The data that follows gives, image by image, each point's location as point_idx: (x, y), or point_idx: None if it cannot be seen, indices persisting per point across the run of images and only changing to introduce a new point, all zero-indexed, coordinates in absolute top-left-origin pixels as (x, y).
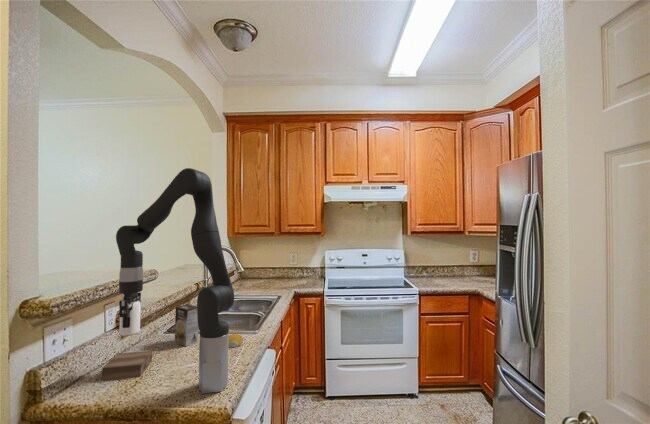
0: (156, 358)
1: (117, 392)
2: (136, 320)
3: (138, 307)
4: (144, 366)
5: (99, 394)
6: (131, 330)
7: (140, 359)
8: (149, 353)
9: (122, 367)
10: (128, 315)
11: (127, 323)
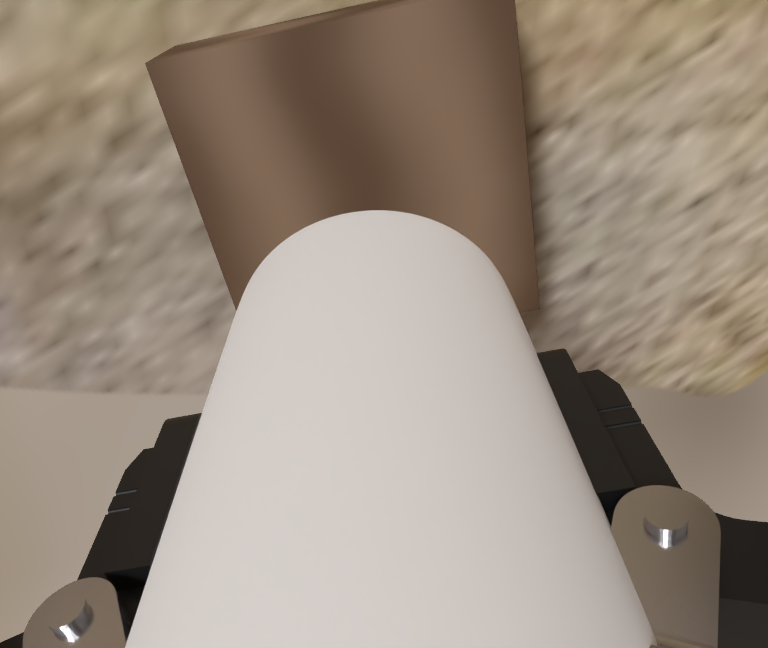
0: (99, 32)
1: (755, 18)
2: (465, 335)
3: (445, 609)
4: (388, 2)
5: (745, 146)
6: (502, 290)
7: (377, 68)
8: (213, 54)
9: (526, 158)
10: (715, 536)
11: (618, 410)
